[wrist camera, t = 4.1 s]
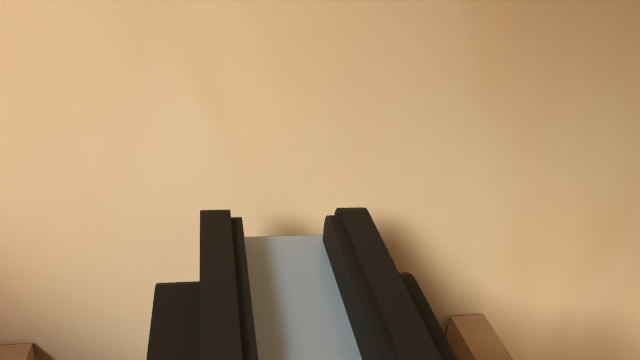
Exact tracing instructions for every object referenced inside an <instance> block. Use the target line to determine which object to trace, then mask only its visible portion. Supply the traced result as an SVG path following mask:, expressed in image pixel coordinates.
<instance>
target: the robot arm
mask: <svg viewBox="0 0 640 360" xmlns="http://www.w3.org/2000/svg"><path fill="white" fill-rule="evenodd" d="M323 243H324V246H325V249H326V252H327V255H328V258H329V261H330V264H331V267H332V270H333V273H334V276H335V279H336V282H337V285H338V289H339V292H340V295H341V298H342V301H343V304H344V307H345V310H346V313H347V316H348V319H349V322H350V325H351V328H352V331H353V334H354V337H355V340H356V343H357V346H358V349H359V352H360V355H361V358H362V360H458V359H457V357H456V355H455V353H454V351H453V349H452V347H451V346H450V344H449V342H448V340H447V338H446V336H445V334H444V332H443V330H442V329H441V327H440V325H439V323H438V321H437V319H436V317H435V315H434V314H433V312H432V310H431V308H430V306H429V304H428V302H427V300H426V298H425V297H424V295H423V293H422V291H421V289H420V287H419V285H418V283H417V282H416V280H415V278H414V277H413V275H412V274H410V273H408V272H405V273H399V272H398V270H397V268H396V266H395V264H394V262H393V260H392V258H391V256H390V254H389V252H388V250H387V248H386V246H385V244H384V242H383V240H382V238H381V236H380V234H379V232H378V230H377V228H376V226H375V224H374V222H373V220H372V218H371V216H370V214H369V212H368V210H367V209H366V208H337V209H336V211H335V214H334V215H330V216H326V218H325V223H324V232H323ZM147 360H258V352H257V343H256V335H255V326H254V318H253V309H252V300H251V292H250V283H249V275H248V266H247V257H246V249H245V240H244V232H243V223H242V217H231V215H230V210H200V281H199V282H176V283H156V286H155V292H154V301H153V310H152V318H151V327H150V335H149V344H148V352H147Z"/></svg>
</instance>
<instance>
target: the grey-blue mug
mask: <svg viewBox="0 0 640 360" xmlns="http://www.w3.org/2000/svg"><path fill="white" fill-rule="evenodd" d="M244 240H245V249H246V257H247V266H248V275H249V283H250V292H251V300H252V309H253V318H254V326H255V335H256V343H257V352H258V360H362V358H361V355H360V352H359V349H358V346H357V343H356V340H355V337H354V334H353V331H352V328H351V325H350V322H349V319H348V316H347V313H346V310H345V307H344V304H343V301H342V298H341V295H340V292H339V289H338V285H337V282H336V279H335V276H334V273H333V270H332V267H331V264H330V261H329V258H328V255H327V252H326V249H325V246H324V243H323V235H301V236H264V237H244Z"/></svg>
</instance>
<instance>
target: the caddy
mask: <svg viewBox="0 0 640 360" xmlns="http://www.w3.org/2000/svg"><path fill="white" fill-rule="evenodd" d="M446 338H447V340H448V342H449V344H450V346H451V347H452V349H453V351H454V353H455V355H456V357H457V359H458V360H512V358H511V357H510V355H509V354H508V352H507V350H506V349H505V347H504V346H503V344H502V343H501V341H500V340H499V338H498V337H497V335H496V333H495V332H494V330H493V329H492V327H491V326H490V324H489V323H488V321H487V319H486V318H485V316H484V315H483V314H475V315H459V316H451V318H450V321H449V325H448V329H447V332H446ZM0 360H35V355H34V350H33V346H32V343H27V344H11V345H0Z"/></svg>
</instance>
